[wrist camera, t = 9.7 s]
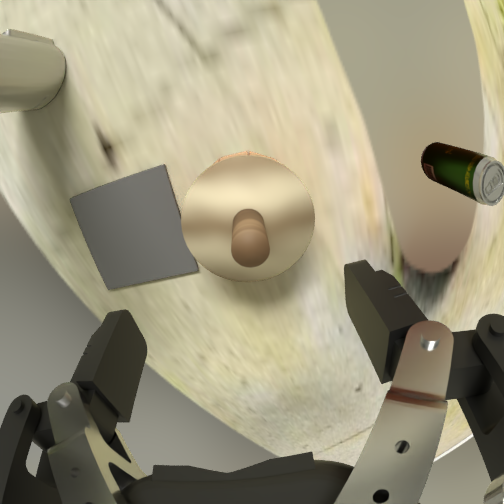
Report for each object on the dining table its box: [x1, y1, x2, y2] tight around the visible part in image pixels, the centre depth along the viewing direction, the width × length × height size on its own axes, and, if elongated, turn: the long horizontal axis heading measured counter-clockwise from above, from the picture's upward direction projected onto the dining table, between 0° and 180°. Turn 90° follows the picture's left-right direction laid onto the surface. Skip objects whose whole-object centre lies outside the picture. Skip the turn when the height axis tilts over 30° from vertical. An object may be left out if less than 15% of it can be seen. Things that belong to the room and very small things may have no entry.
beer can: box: [421, 142, 504, 206], centre depth 27 cm, size 5×5×12 cm
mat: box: [70, 164, 199, 290], centre depth 35 cm, size 14×14×1 cm
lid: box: [181, 155, 315, 282], centre depth 26 cm, size 13×13×7 cm
